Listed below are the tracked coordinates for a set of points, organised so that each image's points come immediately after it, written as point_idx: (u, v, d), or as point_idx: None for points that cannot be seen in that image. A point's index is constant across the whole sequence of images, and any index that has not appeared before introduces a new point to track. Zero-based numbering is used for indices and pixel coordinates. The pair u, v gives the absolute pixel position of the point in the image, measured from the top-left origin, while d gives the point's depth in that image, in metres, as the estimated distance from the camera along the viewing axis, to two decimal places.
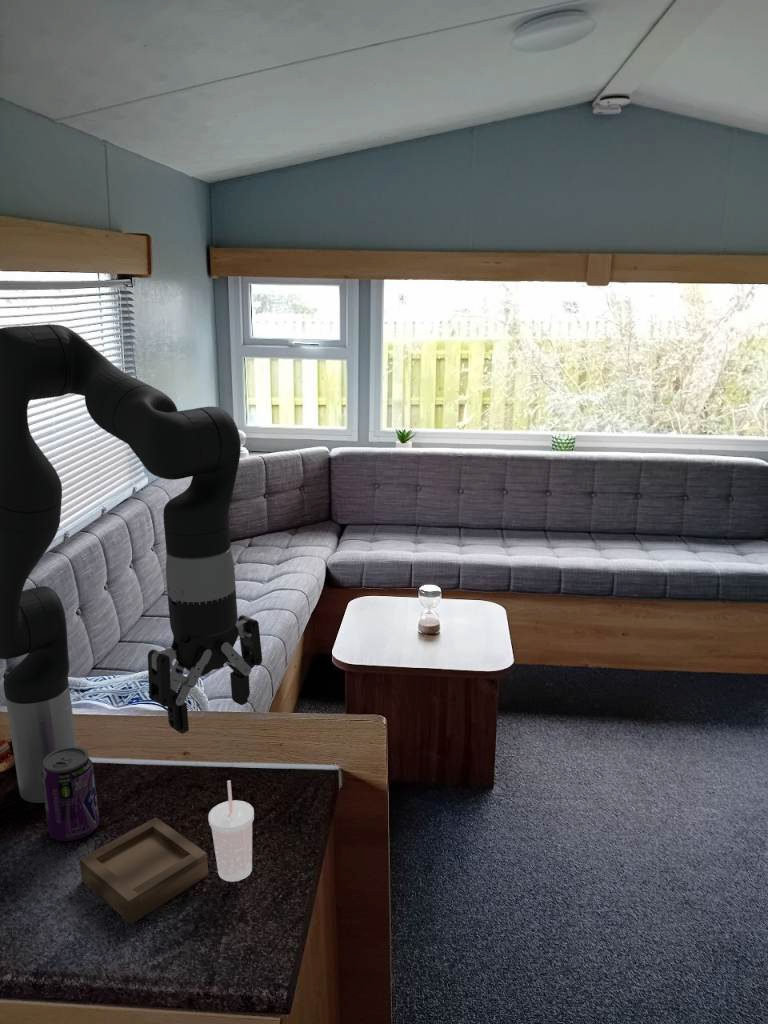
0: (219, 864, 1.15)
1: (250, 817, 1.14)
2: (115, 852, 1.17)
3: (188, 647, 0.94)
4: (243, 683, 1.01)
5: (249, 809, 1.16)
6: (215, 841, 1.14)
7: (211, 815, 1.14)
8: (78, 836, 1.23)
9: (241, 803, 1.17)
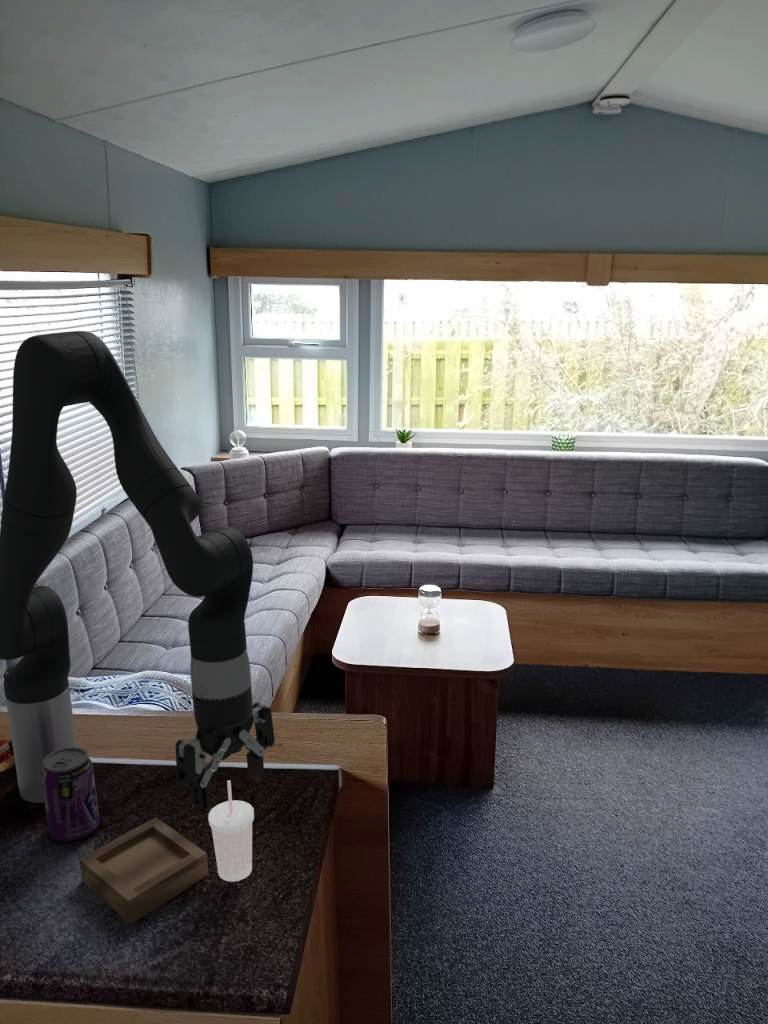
0: (219, 864, 1.15)
1: (250, 817, 1.14)
2: (115, 852, 1.17)
3: (210, 737, 1.08)
4: (258, 763, 1.15)
5: (249, 809, 1.16)
6: (215, 841, 1.14)
7: (211, 815, 1.14)
8: (78, 836, 1.23)
9: (241, 803, 1.17)
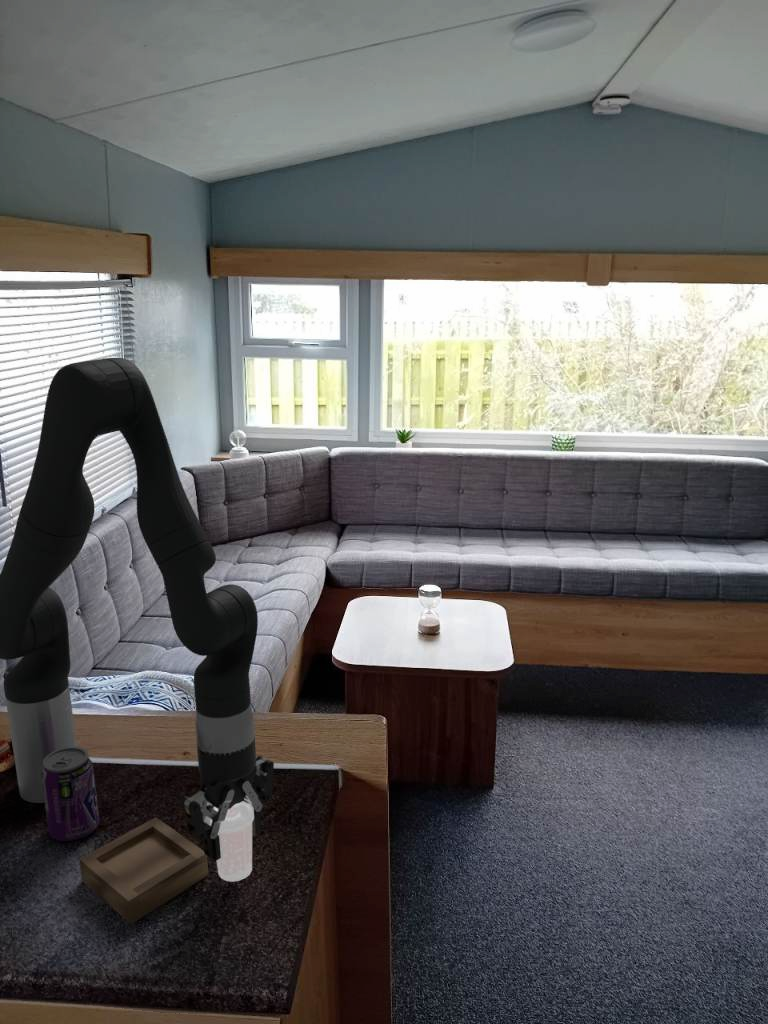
0: (219, 864, 1.15)
1: (250, 817, 1.14)
2: (115, 852, 1.17)
3: (214, 789, 1.10)
4: (255, 818, 1.17)
5: (249, 809, 1.16)
6: None
7: None
8: (78, 836, 1.23)
9: (241, 803, 1.17)
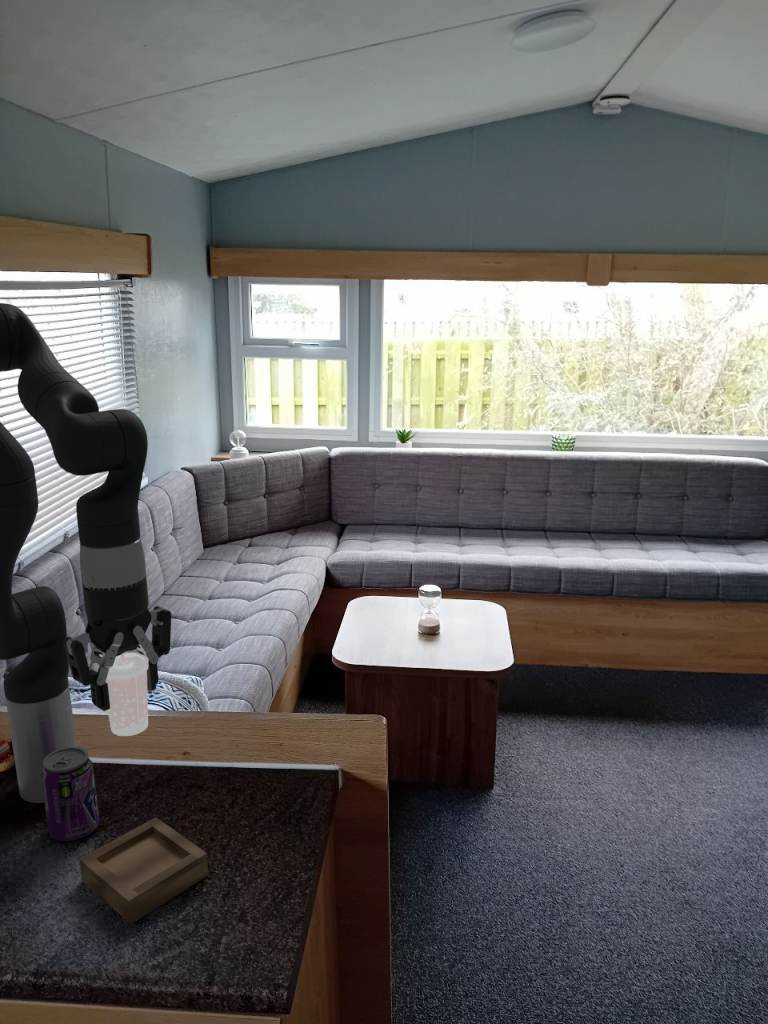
0: (110, 717, 1.07)
1: (143, 666, 1.06)
2: (115, 852, 1.17)
3: (100, 630, 1.02)
4: (151, 671, 1.09)
5: (144, 660, 1.08)
6: None
7: None
8: (78, 836, 1.23)
9: (136, 655, 1.09)
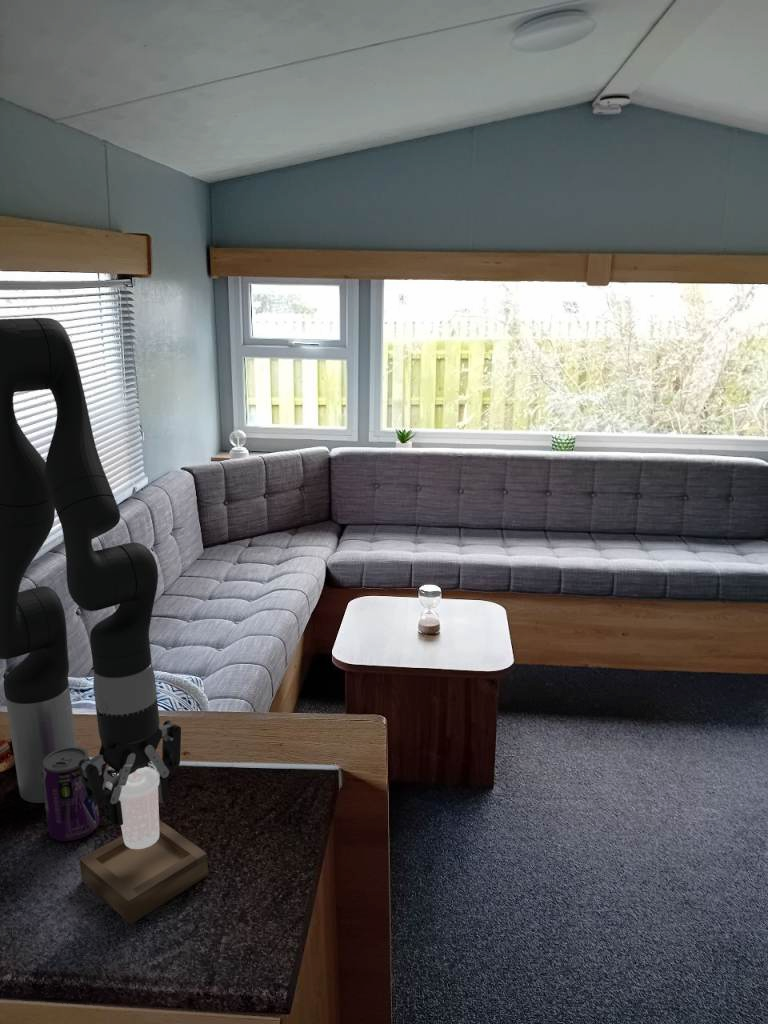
0: (123, 831, 1.12)
1: (154, 782, 1.11)
2: (115, 852, 1.17)
3: (113, 752, 1.07)
4: (162, 784, 1.14)
5: (155, 775, 1.12)
6: None
7: None
8: (78, 836, 1.23)
9: (148, 769, 1.14)
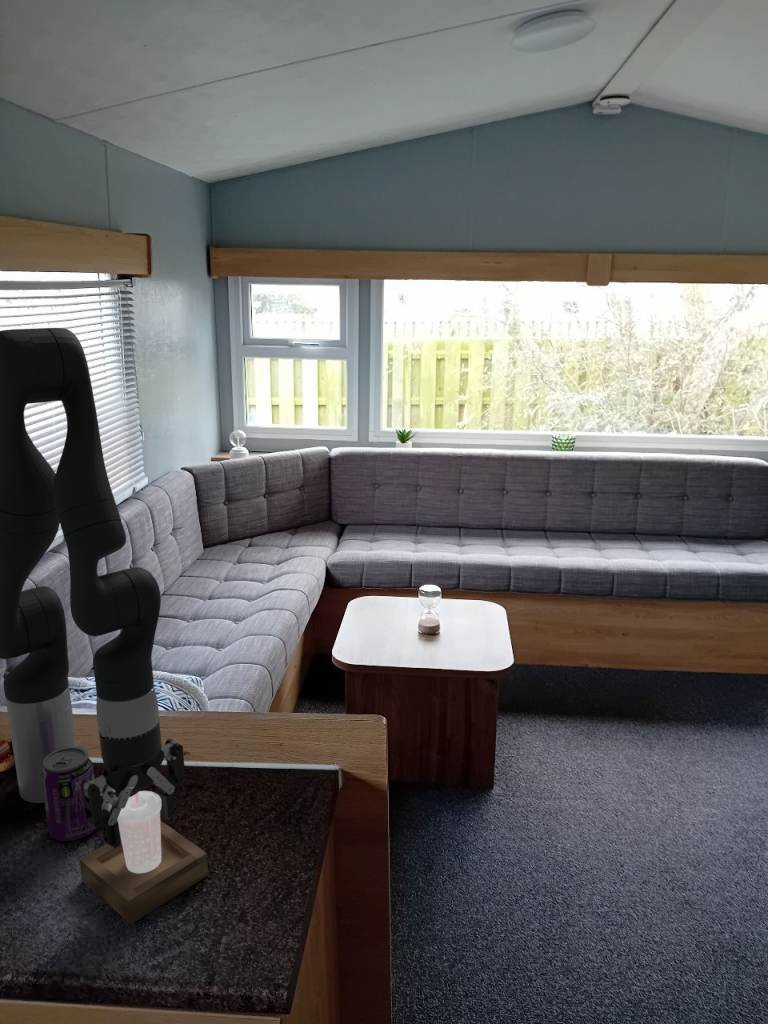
0: (126, 856, 1.13)
1: (156, 808, 1.12)
2: (115, 852, 1.17)
3: (116, 775, 1.08)
4: (167, 801, 1.15)
5: (157, 800, 1.14)
6: (121, 832, 1.12)
7: None
8: (78, 836, 1.23)
9: (150, 794, 1.15)
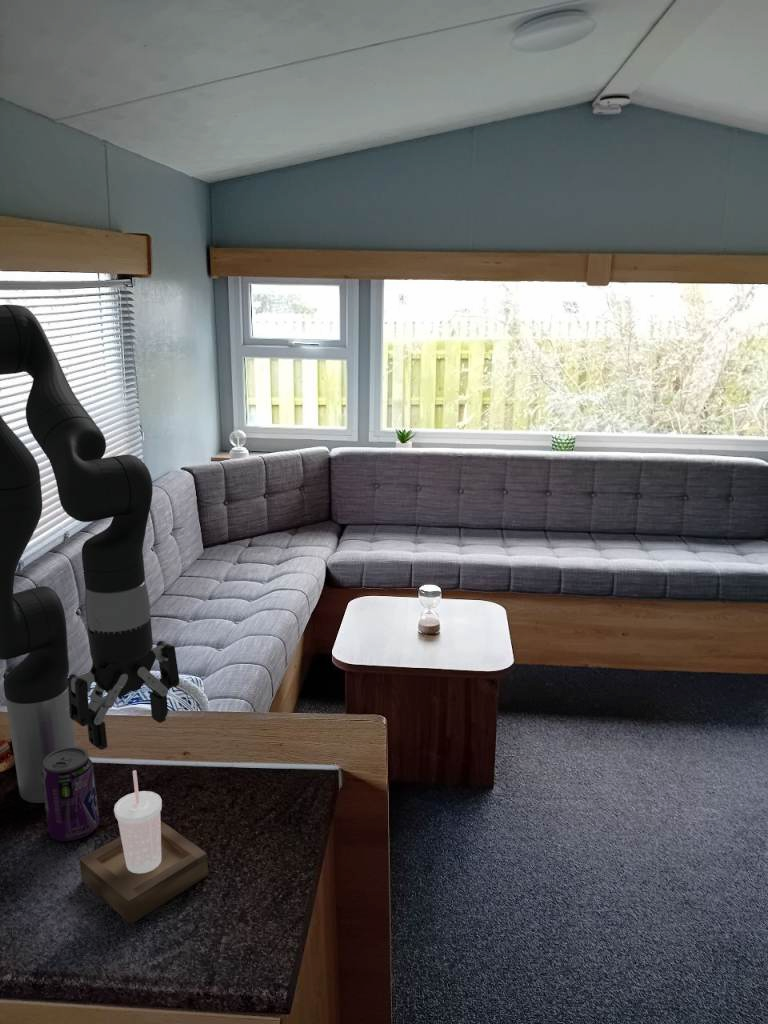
0: (126, 856, 1.13)
1: (156, 808, 1.12)
2: (115, 852, 1.17)
3: (105, 672, 1.04)
4: (161, 703, 1.11)
5: (157, 800, 1.14)
6: (121, 832, 1.12)
7: (117, 806, 1.12)
8: (78, 836, 1.23)
9: (150, 794, 1.15)
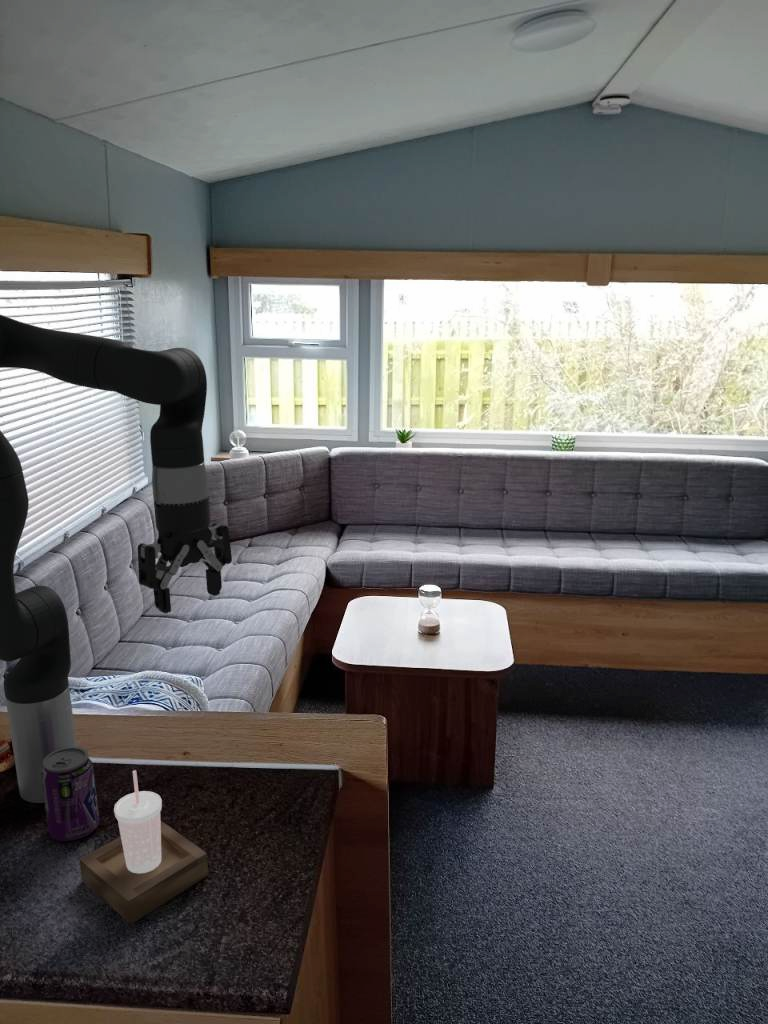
0: (126, 856, 1.13)
1: (156, 808, 1.12)
2: (115, 852, 1.17)
3: (170, 542, 1.17)
4: (216, 577, 1.24)
5: (157, 800, 1.14)
6: (121, 832, 1.12)
7: (117, 806, 1.12)
8: (78, 836, 1.23)
9: (150, 794, 1.15)
